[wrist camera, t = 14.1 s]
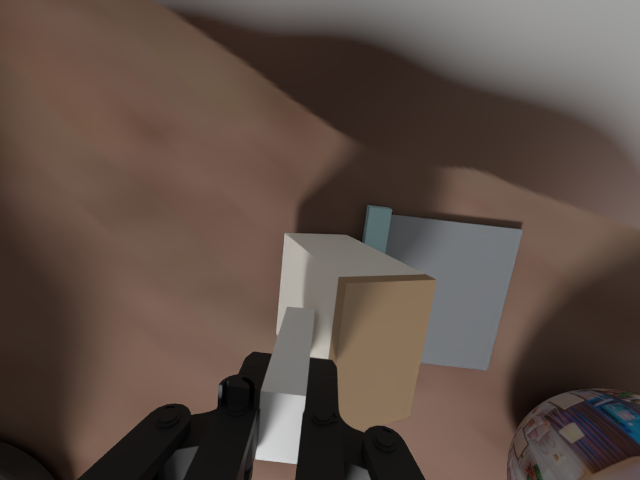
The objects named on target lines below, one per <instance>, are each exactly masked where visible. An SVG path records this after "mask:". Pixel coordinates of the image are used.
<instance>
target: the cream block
mask: <svg viewBox="0 0 640 480" xmlns="http://www.w3.org/2000/svg"><path fill="white" fill-rule="evenodd" d="M436 282H437V280H436V279H434V278H432V277H430V276H428V275H426V274H424V273H422V272H420V271H418V270H416V269H414V268H412V267H410V266H408V265H406V264H404V263H402V262H400V261H398V260H396V259H394V258H392V257H390V256H388V255H386V254H384V253H382V252H380V251H378V250H376V249H374V248H372V247H370V246H368V245H366V244H364V243H362V242H360V241H358V240H356V239H354V238H352V237H350V236H348V235H339V234H303V233H285V237H284V248H283V260H282V272H281V283H280V295H279V307H278V319H277V330H276V334H277V336H278V334H279V331H280V328H281V324H282V321H283V318H284V315H285V312H286V308H287V306H288V307H297V308H306V309H315V314H314V323H313V333H312V343H311V352H310V357H312V358H321V359H330V360H333V362H334V363H335V365H336V366H337V377H338V401H339V413H340V416H341V417H342V419H343V420H344V421H345V423H347V424H348V425H349V426H350V427H352V428H354V429H356V430H362V429H366V428H370V427H373V426H378V425H382V424H386V423H390V422H394V421H398V420H402V419H406V418H410V413H411V408H412V403H413V398H414V393H415V388H416V383H417V377H418V372H419V367H420V362H421V357H422V352H423V347H424V342H425V337H426V332H427V327H428V322H429V317H430V312H431V307H432V302H433V297H434V292H435V287H436Z"/></svg>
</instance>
